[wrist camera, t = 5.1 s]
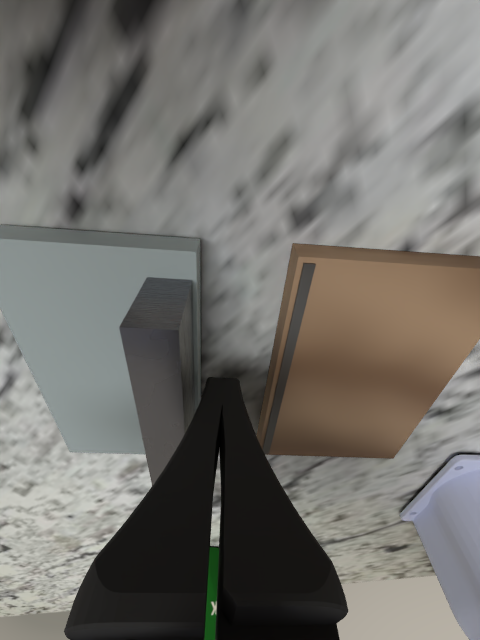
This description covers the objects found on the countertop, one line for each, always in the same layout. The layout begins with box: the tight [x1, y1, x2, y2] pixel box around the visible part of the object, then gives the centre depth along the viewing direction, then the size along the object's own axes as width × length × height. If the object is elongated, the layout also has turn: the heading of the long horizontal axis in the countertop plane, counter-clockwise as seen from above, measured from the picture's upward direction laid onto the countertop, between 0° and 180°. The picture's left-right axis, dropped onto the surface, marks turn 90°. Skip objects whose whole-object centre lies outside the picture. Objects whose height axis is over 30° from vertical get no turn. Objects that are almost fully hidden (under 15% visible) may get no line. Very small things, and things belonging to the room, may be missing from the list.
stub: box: [0, 225, 201, 486], centre depth 12 cm, size 12×7×4 cm, turn 176°
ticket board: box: [257, 243, 480, 458], centre depth 14 cm, size 12×8×1 cm, turn 176°
